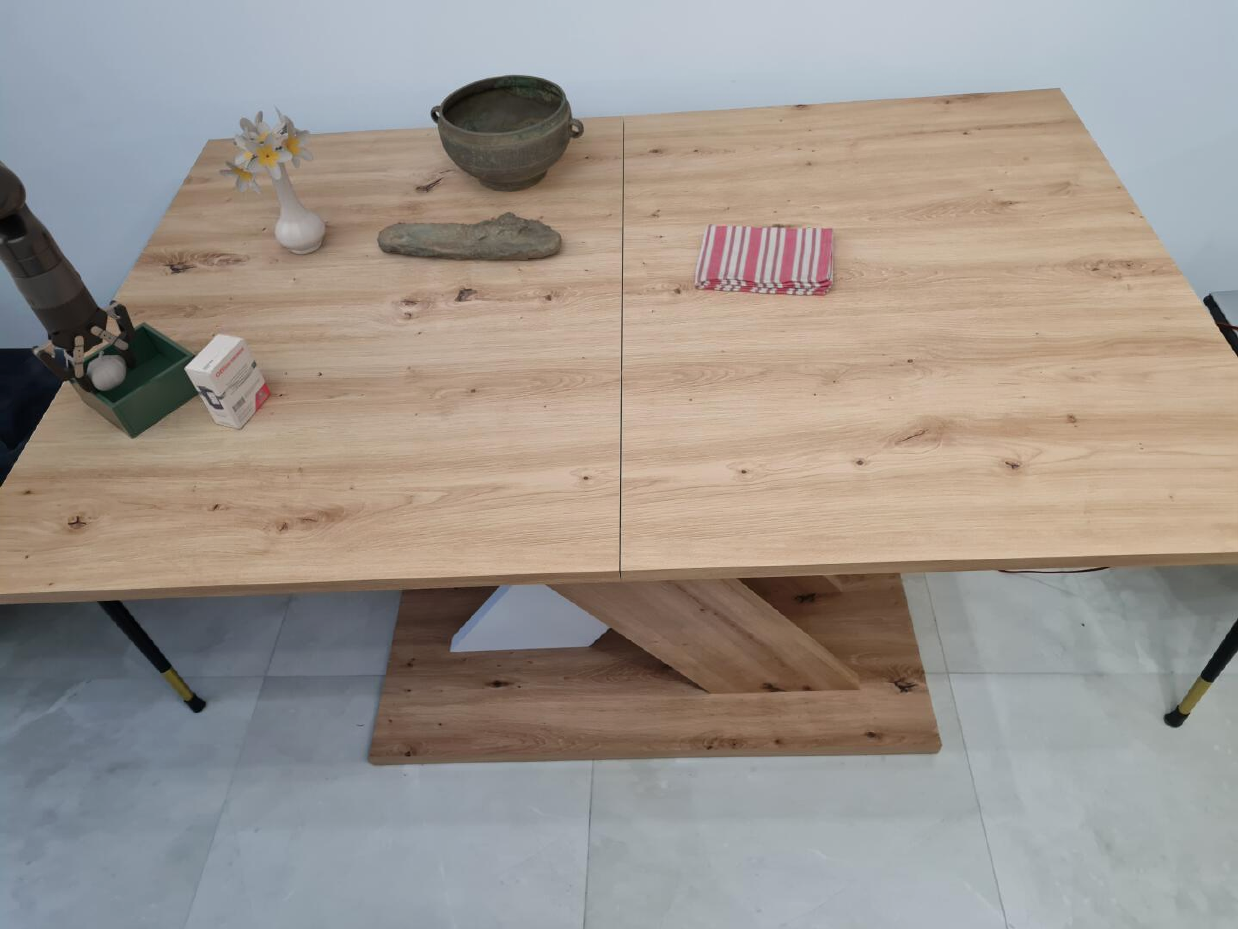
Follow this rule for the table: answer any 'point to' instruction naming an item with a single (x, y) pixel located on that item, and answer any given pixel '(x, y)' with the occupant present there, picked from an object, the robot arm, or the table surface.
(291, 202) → the flower vase
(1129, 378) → the table surface
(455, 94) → the bowl
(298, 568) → the table surface
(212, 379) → the ink box
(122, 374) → the garlic
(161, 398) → the green tapered tray
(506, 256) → the elongated rock
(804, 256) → the dish towel
